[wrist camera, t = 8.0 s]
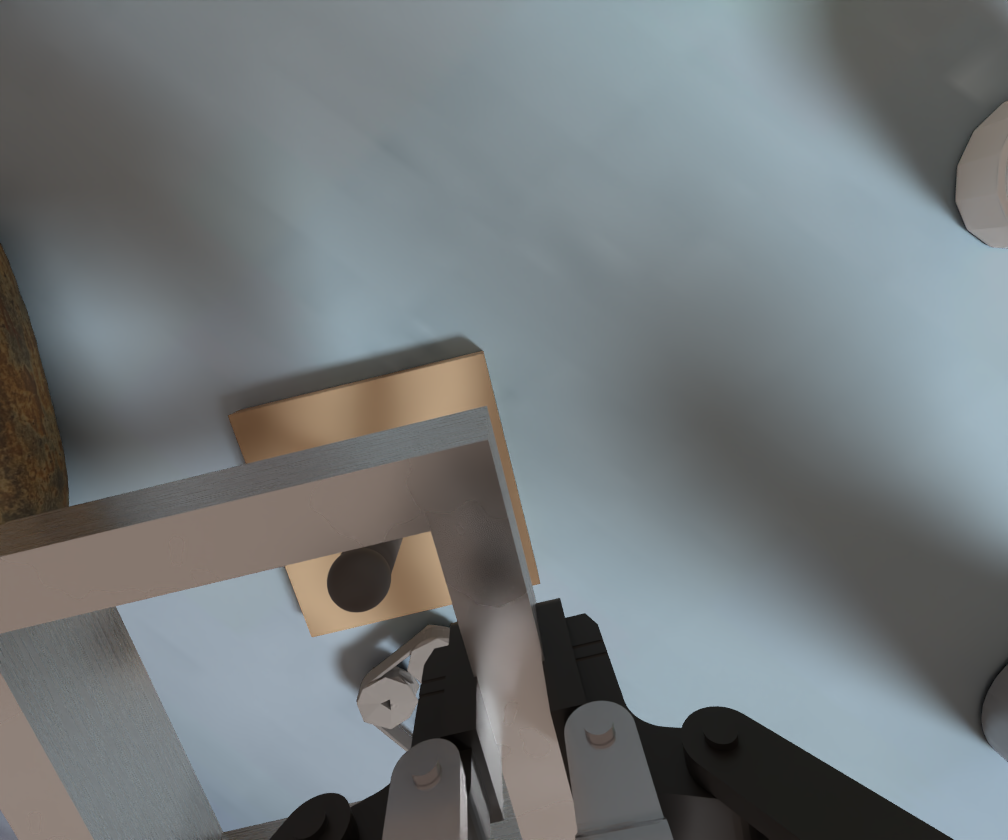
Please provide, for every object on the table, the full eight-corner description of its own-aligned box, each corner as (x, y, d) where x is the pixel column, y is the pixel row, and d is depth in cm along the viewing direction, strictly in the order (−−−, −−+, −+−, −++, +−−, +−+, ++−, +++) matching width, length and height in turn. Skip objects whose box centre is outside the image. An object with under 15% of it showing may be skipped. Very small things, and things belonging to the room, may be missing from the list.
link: (486, 405, 12) (488, 439, 10) (584, 792, 15) (608, 909, 12) (8, 521, 13) (-133, 588, 10) (193, 881, 15) (125, 1017, 13)
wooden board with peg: (483, 350, 25) (482, 382, 16) (537, 571, 27) (563, 702, 19) (239, 409, 25) (104, 473, 16) (319, 623, 28) (241, 777, 19)
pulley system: (629, 601, 29) (357, 616, 28) (662, 661, 25) (339, 682, 23) (601, 936, 37) (385, 962, 35) (622, 1029, 32) (375, 1063, 31)
